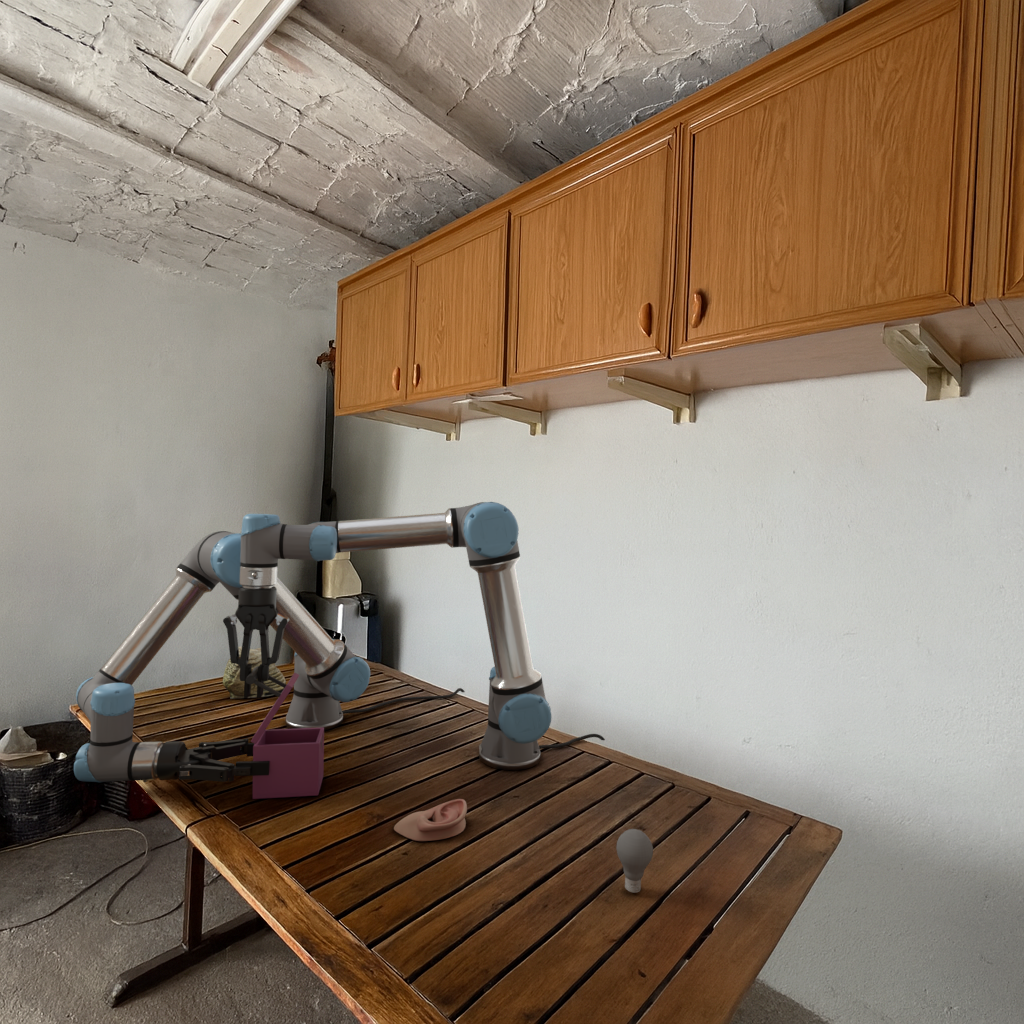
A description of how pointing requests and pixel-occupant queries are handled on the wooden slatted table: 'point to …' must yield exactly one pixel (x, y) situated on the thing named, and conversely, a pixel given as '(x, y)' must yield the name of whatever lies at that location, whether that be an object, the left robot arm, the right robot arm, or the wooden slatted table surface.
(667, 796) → the wooden slatted table surface
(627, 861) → the light bulb
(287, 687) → the lid
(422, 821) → the anatomical model
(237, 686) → the fossil
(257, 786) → the chest
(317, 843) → the wooden slatted table surface
